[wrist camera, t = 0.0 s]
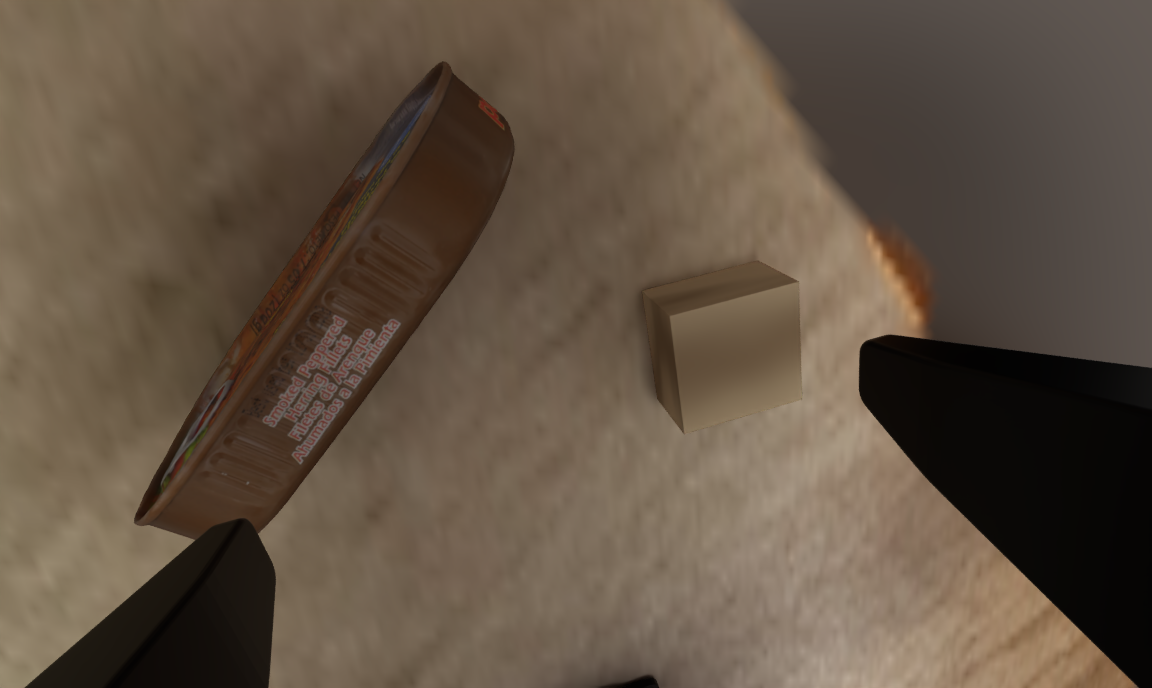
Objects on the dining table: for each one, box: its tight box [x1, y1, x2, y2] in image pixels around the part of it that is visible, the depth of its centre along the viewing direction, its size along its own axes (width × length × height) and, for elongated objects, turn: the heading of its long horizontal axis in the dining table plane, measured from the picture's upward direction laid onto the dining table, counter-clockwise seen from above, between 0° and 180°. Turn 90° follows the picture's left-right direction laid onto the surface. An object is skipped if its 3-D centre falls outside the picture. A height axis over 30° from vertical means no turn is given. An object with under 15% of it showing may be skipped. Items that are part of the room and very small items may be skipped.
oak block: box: [642, 261, 802, 434], centre depth 25 cm, size 5×5×3 cm
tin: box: [134, 61, 514, 540], centre depth 18 cm, size 15×3×8 cm, turn 141°
